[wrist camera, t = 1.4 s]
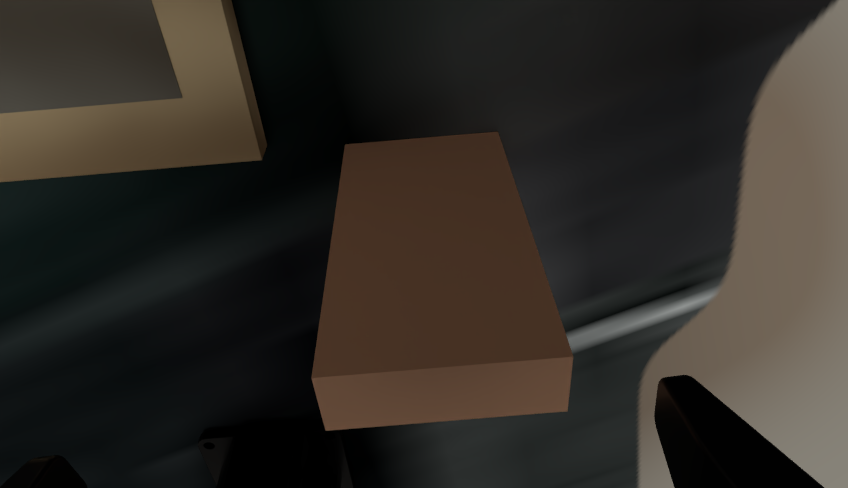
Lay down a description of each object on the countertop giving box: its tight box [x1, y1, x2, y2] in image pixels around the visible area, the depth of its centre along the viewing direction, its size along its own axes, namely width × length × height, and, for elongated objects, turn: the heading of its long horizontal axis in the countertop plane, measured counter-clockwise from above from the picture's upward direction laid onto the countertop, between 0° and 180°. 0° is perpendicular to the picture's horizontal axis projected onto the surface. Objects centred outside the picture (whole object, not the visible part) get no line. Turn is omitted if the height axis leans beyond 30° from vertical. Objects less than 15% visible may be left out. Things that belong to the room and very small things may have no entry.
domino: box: [312, 132, 573, 431], centre depth 16 cm, size 2×5×10 cm, turn 94°
